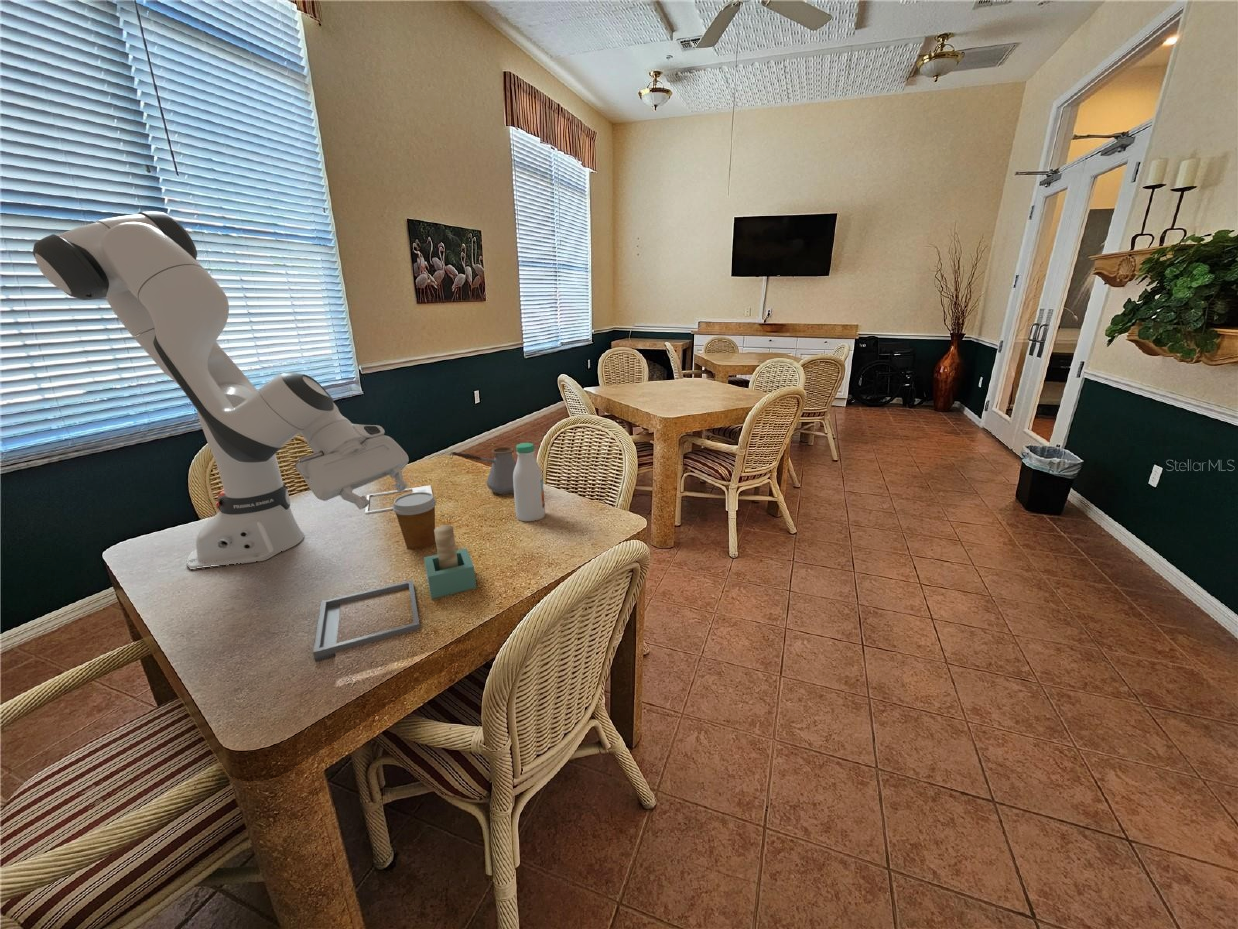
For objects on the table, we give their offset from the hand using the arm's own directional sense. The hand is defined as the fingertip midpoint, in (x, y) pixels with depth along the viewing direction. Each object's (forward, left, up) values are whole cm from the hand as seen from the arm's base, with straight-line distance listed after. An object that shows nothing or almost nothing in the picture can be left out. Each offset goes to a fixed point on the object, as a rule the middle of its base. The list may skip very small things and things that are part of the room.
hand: (385, 497), depth 97 cm
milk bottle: (+33, +18, -19) cm, 42 cm away
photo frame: (+2, +48, -19) cm, 51 cm away
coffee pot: (+27, +40, -19) cm, 52 cm away
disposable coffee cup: (+5, +14, -19) cm, 24 cm away
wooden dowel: (+9, -8, -18) cm, 21 cm away
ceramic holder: (+9, -8, -18) cm, 22 cm away
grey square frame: (-6, -13, -18) cm, 23 cm away
